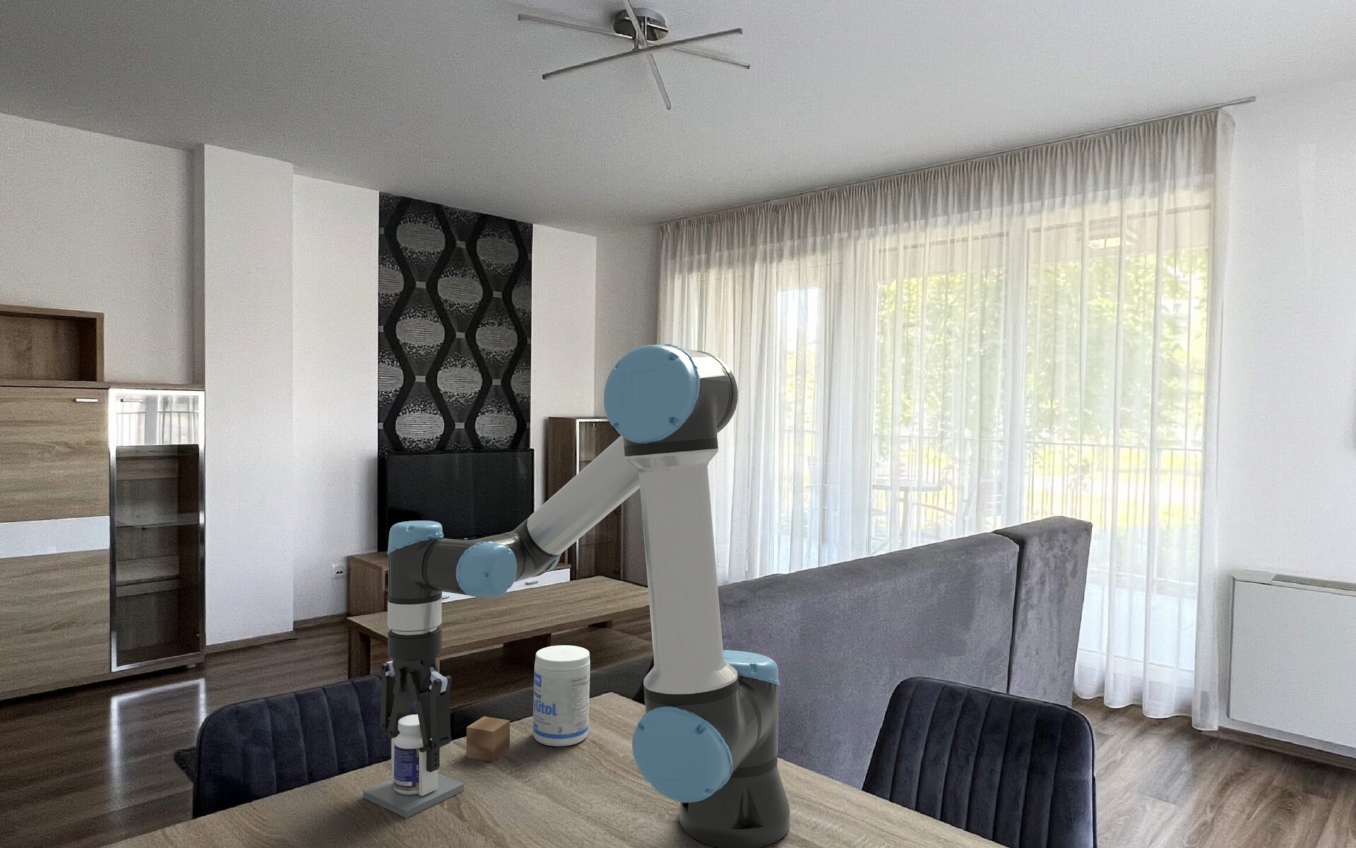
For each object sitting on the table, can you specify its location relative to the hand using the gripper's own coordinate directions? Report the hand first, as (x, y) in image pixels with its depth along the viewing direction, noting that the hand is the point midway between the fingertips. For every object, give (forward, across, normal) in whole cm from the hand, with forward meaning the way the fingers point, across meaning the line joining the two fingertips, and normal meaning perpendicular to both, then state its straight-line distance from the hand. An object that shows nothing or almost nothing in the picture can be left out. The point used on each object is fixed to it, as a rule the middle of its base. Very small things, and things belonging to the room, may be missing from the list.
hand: (414, 785), depth 118 cm
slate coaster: (+1, 0, 0) cm, 1 cm away
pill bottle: (0, 0, 0) cm, 0 cm away
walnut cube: (+1, +2, -16) cm, 16 cm away
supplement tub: (+2, -3, -28) cm, 28 cm away
